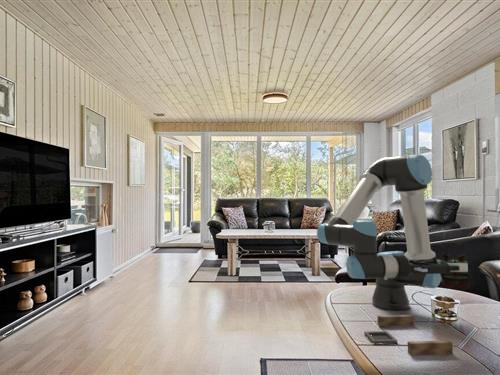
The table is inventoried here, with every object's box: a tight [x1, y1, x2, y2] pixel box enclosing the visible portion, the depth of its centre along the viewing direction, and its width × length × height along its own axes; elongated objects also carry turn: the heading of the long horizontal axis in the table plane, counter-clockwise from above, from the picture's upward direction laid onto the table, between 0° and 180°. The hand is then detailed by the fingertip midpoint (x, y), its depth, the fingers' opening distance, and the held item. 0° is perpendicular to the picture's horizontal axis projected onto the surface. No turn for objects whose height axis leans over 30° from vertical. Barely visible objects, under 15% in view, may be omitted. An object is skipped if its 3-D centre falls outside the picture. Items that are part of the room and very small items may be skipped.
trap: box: [363, 330, 398, 344], centre depth 120 cm, size 8×8×1 cm
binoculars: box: [440, 253, 473, 290], centre depth 119 cm, size 9×11×10 cm
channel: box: [376, 314, 454, 356], centre depth 120 cm, size 13×25×4 cm, turn 2°
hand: (461, 265), depth 121 cm, fingers closed on binoculars, 5 cm apart
